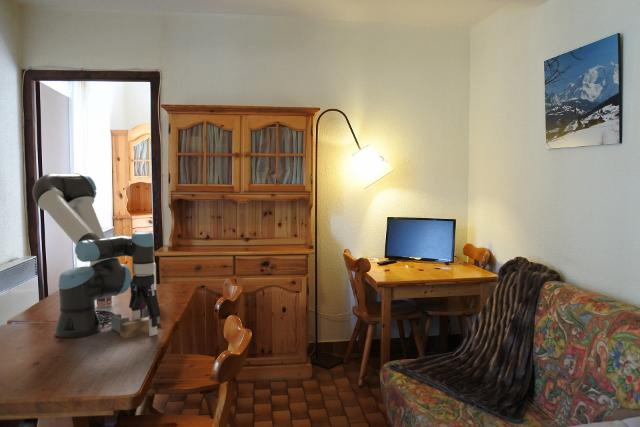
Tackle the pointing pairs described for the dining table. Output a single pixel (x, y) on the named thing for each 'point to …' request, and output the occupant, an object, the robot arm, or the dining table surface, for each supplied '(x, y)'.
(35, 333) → the dining table surface
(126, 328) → the slat
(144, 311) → the endcap far
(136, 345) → the dining table surface
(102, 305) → the pill bottle
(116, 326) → the grey u-shaped bracket
